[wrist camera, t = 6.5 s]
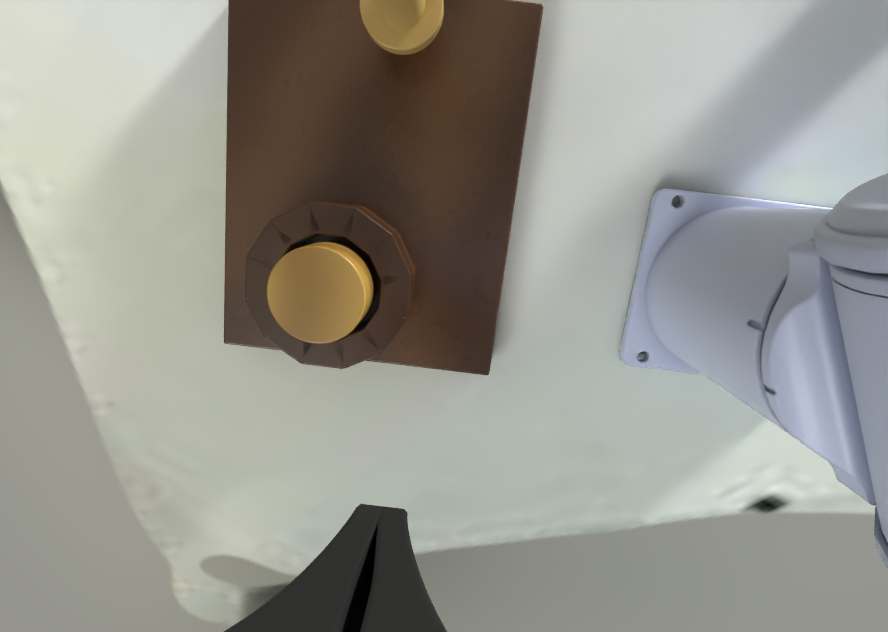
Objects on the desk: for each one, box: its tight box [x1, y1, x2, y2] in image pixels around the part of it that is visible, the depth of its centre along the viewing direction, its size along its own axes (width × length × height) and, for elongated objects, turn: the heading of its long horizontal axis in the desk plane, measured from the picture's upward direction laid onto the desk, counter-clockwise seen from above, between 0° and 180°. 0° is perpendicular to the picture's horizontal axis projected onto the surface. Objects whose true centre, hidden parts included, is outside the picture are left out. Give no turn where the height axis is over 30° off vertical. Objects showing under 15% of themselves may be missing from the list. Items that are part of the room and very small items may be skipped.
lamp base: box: [224, 0, 543, 375], centre depth 20 cm, size 12×15×4 cm
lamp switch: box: [267, 242, 374, 344], centre depth 18 cm, size 4×4×2 cm
